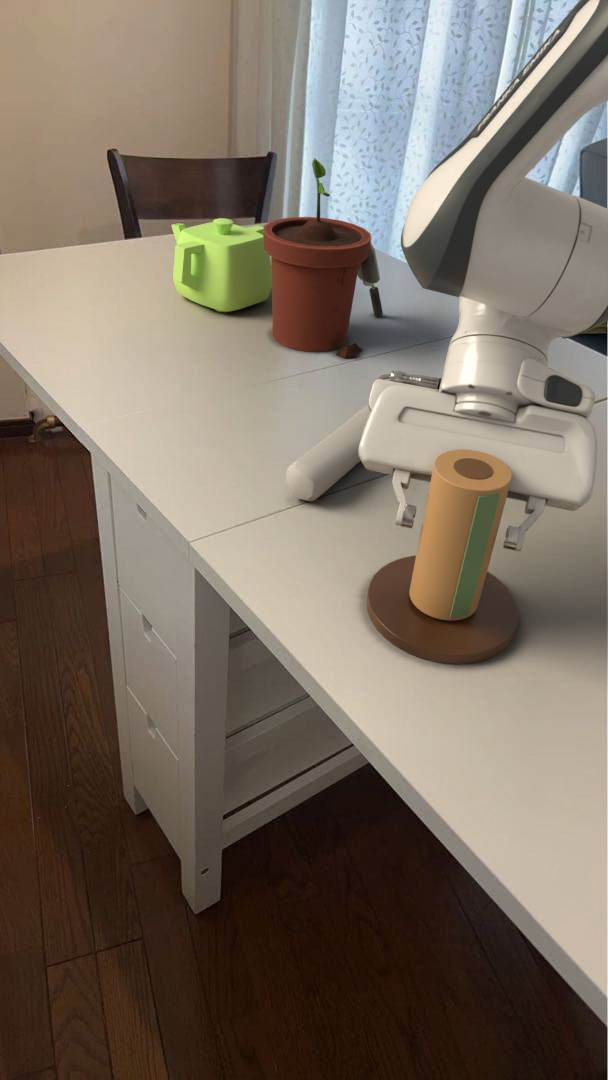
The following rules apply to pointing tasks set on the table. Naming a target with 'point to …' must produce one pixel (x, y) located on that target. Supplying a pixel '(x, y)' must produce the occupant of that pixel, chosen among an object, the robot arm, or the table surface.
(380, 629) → the disc
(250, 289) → the teapot
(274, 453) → the table surface
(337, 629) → the table surface
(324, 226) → the potted plant
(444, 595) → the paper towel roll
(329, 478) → the tube
